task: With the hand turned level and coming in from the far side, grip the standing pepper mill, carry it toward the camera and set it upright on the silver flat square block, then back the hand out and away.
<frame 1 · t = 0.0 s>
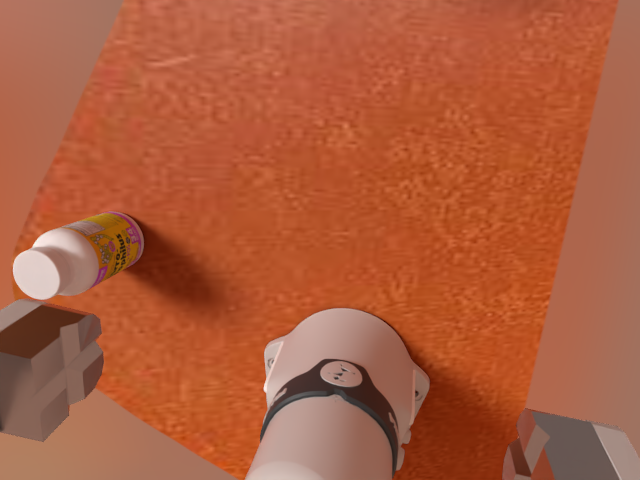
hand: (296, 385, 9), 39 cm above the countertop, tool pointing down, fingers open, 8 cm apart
supplement bottle: (121, 237, 53), on the countertop
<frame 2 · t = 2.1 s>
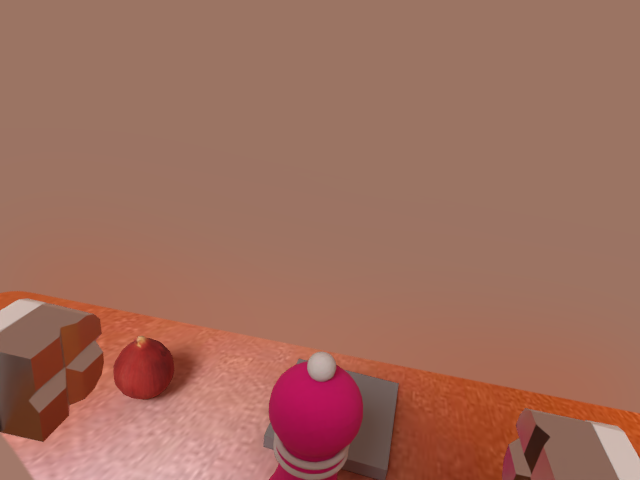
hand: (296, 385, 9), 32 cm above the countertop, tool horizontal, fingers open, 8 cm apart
onion: (146, 397, 49), on the countertop
silver flat square block: (335, 417, 49), on the countertop
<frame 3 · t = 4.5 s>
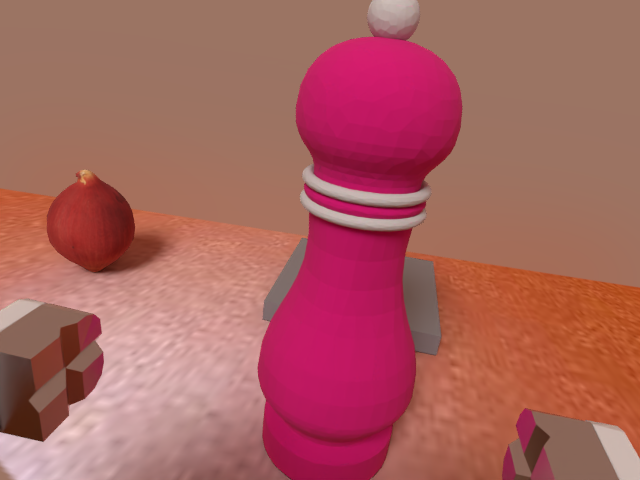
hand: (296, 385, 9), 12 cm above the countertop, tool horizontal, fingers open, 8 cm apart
pepper mill: (324, 439, 23), on the countertop
onion: (96, 272, 36), on the countertop
silver flat square block: (356, 295, 37), on the countertop
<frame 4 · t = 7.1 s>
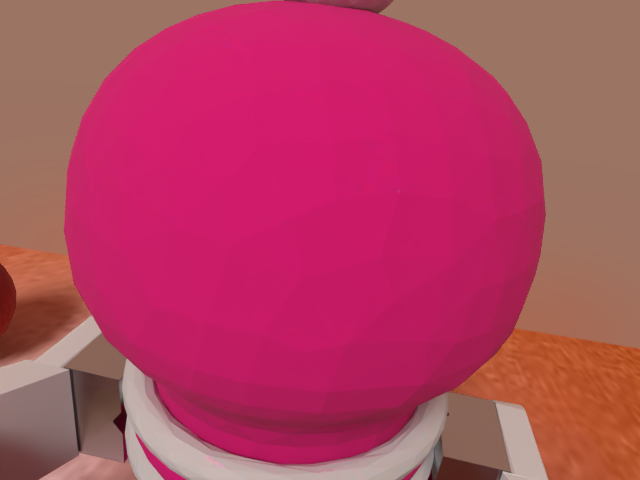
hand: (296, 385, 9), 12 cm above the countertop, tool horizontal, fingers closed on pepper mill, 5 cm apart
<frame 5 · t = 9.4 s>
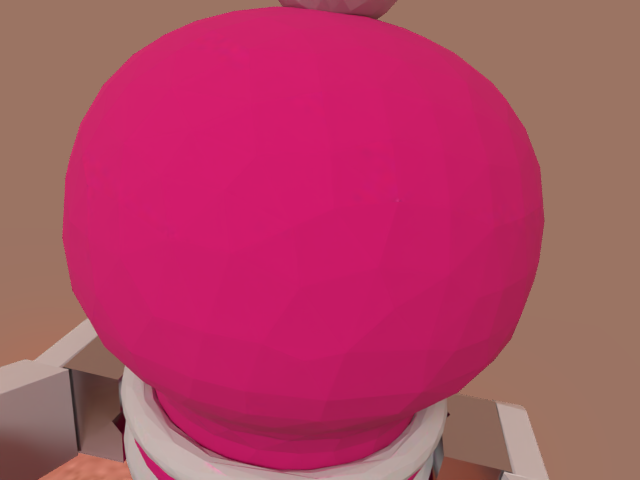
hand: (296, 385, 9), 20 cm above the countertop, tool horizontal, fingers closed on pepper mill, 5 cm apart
when the fingers open (14 cm above the countertop, at t = 11.8 s): pepper mill moves 1 cm, resting on silver flat square block.
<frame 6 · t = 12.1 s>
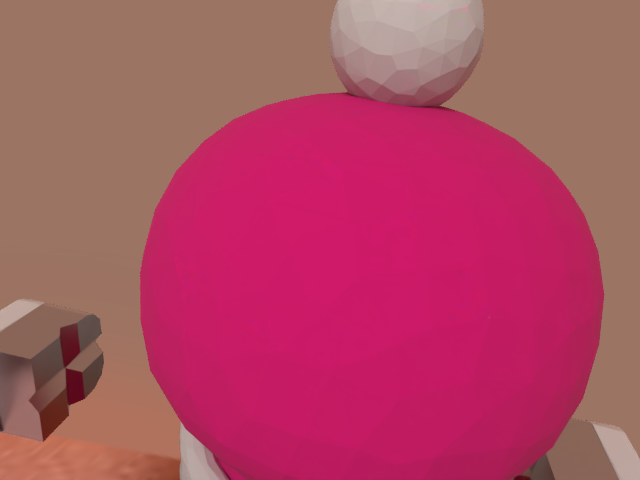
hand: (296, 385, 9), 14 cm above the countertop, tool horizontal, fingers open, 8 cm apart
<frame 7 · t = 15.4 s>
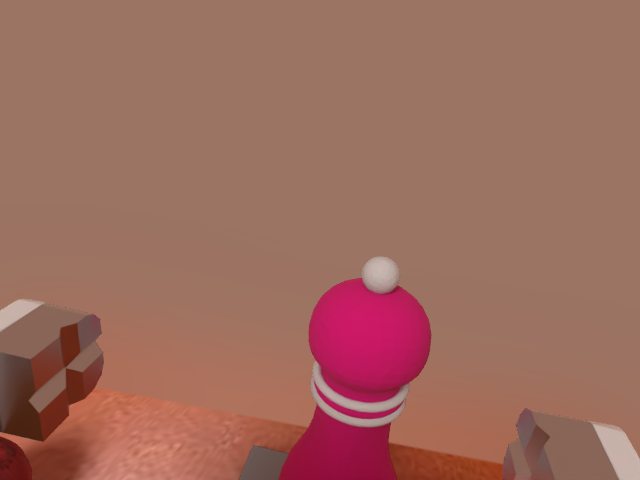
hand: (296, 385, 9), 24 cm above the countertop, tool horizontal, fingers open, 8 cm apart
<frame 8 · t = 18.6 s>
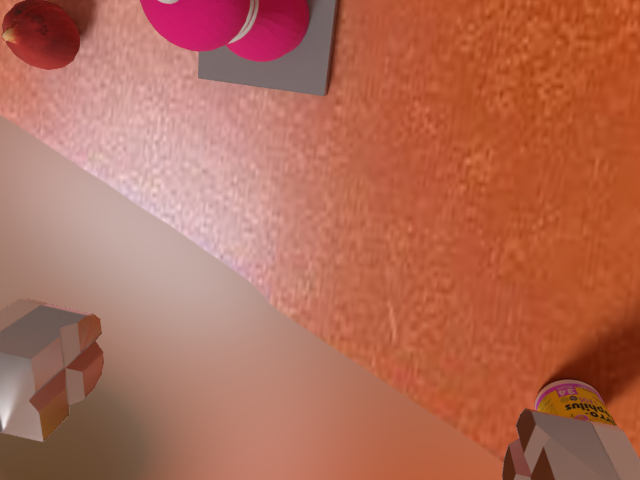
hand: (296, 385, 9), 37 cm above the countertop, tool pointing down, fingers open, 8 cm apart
pepper mill: (275, 17, 40), point 1 cm above the countertop, touching silver flat square block
onion: (72, 37, 45), on the countertop
silver flat square block: (269, 16, 41), on the countertop
supplement bottle: (565, 400, 50), on the countertop
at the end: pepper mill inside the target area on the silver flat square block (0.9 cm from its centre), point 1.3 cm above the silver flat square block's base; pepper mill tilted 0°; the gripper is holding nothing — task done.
